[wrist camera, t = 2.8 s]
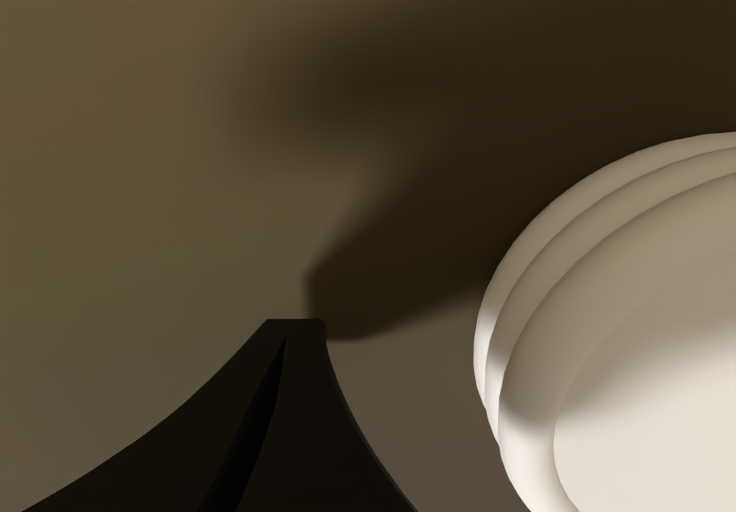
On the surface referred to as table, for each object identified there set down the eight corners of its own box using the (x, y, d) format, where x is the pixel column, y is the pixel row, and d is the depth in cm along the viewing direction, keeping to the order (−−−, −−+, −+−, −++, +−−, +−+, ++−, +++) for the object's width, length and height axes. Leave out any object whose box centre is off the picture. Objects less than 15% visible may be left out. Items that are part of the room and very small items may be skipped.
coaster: (484, 132, 10) (544, 175, 7) (947, 120, 10) (1226, 157, 7) (456, 466, 14) (485, 590, 11) (781, 455, 14) (904, 576, 11)
